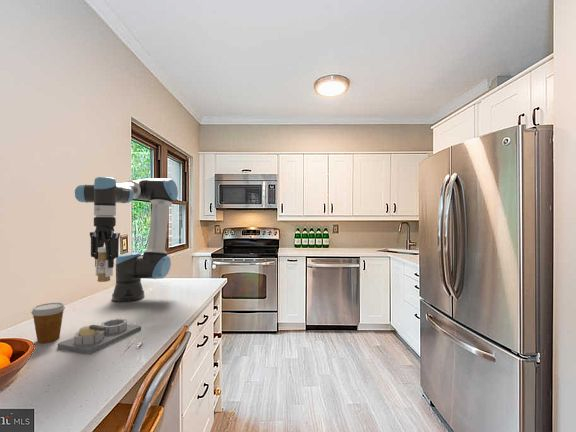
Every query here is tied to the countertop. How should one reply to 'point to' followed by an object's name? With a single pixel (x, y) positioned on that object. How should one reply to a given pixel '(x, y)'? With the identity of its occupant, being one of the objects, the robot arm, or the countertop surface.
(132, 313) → the countertop surface
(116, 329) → the gear housing
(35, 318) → the disposable coffee cup
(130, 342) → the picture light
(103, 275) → the sprinkles bottle
